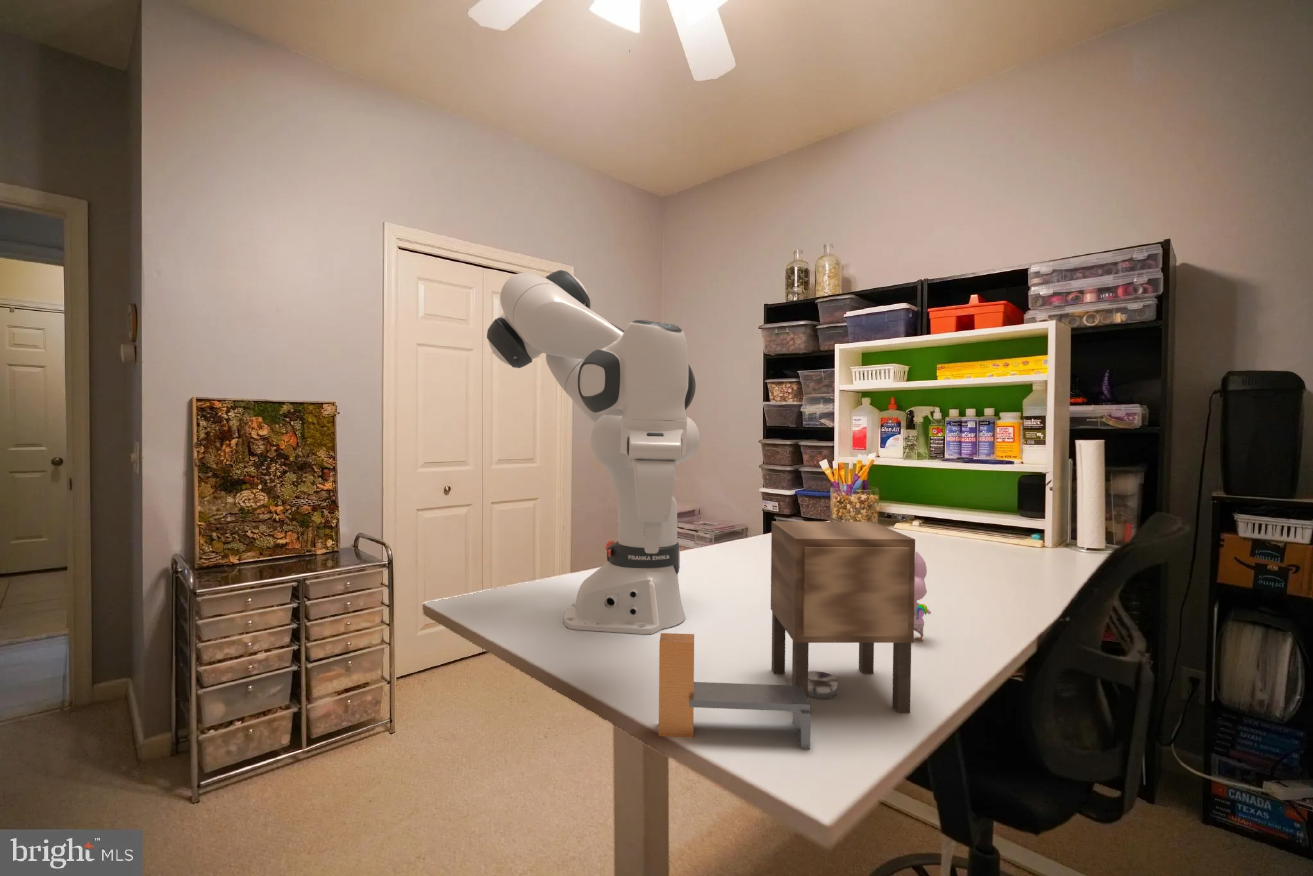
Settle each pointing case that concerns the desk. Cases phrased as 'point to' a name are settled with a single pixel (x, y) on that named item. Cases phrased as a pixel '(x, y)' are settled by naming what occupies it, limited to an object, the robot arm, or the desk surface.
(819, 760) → the desk surface
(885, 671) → the desk surface
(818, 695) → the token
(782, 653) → the cabinet
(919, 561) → the rabbit figure
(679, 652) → the tan and grey bench
